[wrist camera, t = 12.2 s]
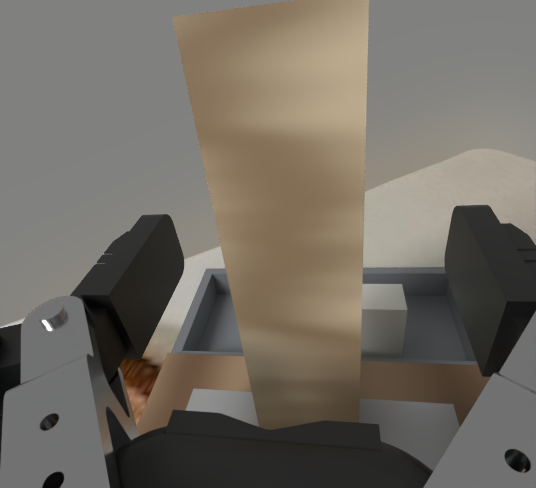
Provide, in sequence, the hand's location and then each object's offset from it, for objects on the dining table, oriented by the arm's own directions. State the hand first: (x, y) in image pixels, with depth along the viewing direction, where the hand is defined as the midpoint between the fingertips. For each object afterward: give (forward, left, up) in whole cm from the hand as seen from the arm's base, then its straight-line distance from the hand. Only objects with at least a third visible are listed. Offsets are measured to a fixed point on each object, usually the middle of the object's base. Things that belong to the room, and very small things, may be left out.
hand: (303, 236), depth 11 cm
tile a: (-2, -6, -11) cm, 12 cm away
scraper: (0, +2, -10) cm, 10 cm away
